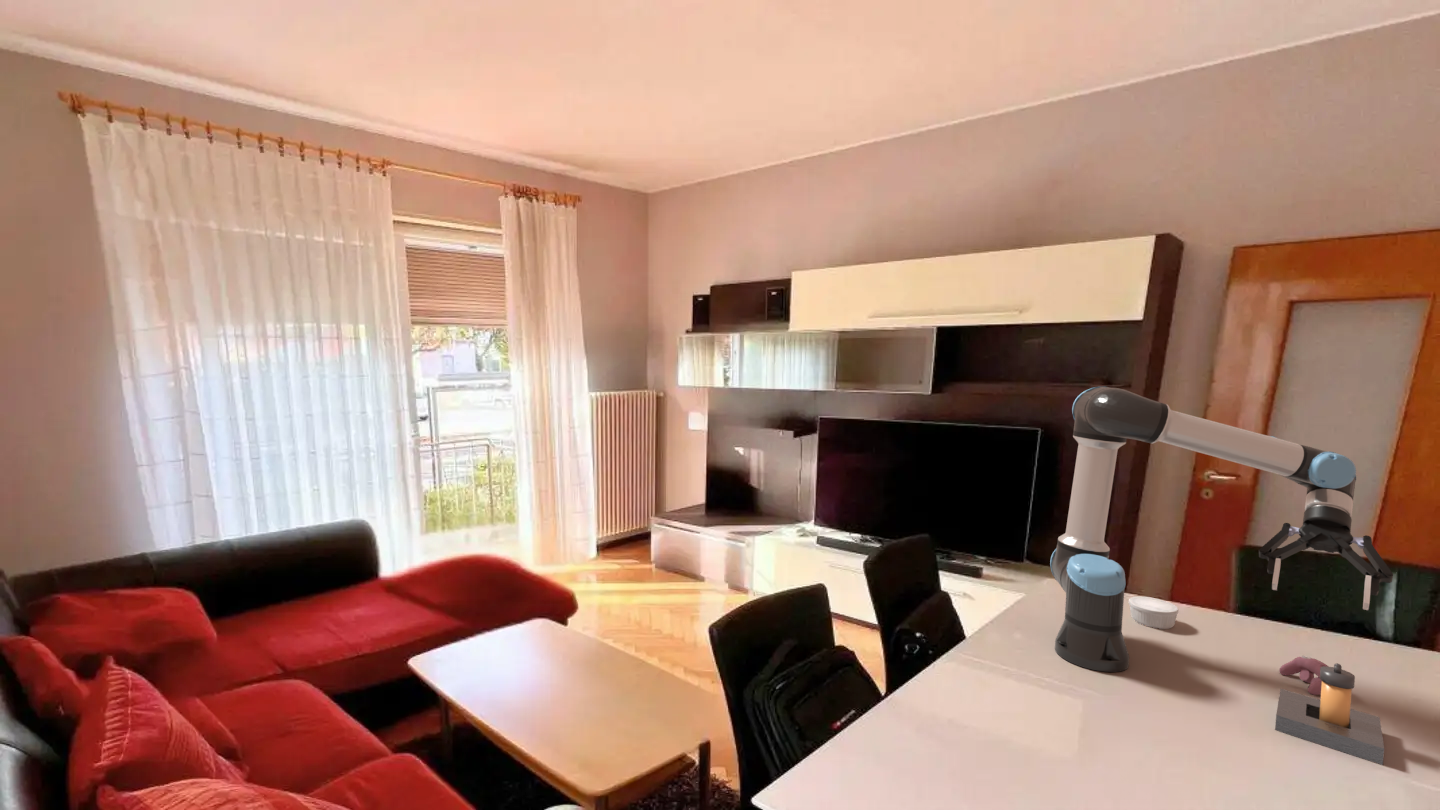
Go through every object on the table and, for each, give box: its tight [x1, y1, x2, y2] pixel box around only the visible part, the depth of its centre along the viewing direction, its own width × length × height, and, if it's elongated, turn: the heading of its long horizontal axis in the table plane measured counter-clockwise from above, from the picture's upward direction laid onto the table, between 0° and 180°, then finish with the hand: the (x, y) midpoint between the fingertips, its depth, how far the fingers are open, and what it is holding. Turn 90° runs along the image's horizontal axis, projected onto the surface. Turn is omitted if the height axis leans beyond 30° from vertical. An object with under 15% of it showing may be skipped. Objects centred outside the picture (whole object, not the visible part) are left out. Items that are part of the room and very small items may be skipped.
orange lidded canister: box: [1319, 662, 1356, 729], centre depth 115 cm, size 5×5×14 cm
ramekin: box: [1128, 596, 1179, 630], centre depth 165 cm, size 11×11×5 cm
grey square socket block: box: [1274, 688, 1385, 766], centre depth 116 cm, size 14×14×3 cm
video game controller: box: [1278, 654, 1330, 696], centre depth 133 cm, size 10×5×7 cm, turn 170°
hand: (1318, 596), depth 125 cm, fingers open, 13 cm apart
